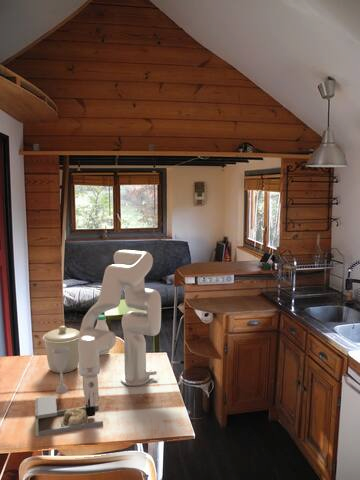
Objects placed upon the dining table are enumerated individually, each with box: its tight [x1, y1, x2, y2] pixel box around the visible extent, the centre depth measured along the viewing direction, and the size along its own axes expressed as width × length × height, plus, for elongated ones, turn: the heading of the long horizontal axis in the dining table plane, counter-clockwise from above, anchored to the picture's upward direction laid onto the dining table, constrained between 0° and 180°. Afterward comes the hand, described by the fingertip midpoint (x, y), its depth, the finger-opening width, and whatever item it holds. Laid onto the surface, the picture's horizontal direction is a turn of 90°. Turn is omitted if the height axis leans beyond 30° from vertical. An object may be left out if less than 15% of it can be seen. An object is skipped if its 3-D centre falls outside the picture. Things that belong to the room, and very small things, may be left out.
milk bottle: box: [94, 314, 111, 356], centre depth 225 cm, size 8×8×20 cm
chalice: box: [52, 347, 69, 394], centre depth 184 cm, size 7×7×18 cm
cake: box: [60, 407, 89, 427], centre depth 161 cm, size 10×10×5 cm
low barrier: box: [34, 395, 104, 437], centre depth 161 cm, size 23×13×8 cm, turn 108°
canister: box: [42, 325, 80, 374], centre depth 206 cm, size 18×18×21 cm
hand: (90, 415), depth 164 cm, fingers closed
